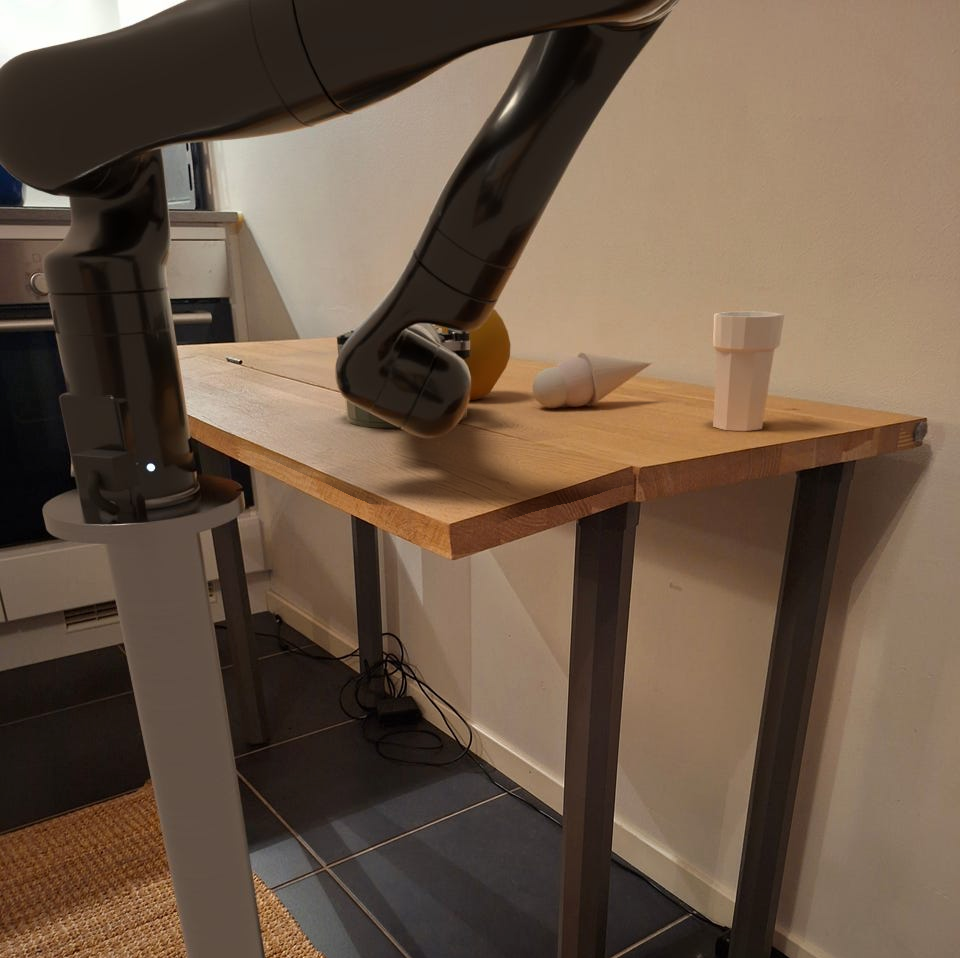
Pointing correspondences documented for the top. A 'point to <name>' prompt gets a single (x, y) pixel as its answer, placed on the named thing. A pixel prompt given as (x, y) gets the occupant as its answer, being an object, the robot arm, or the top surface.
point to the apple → (487, 354)
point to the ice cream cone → (583, 380)
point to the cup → (743, 366)
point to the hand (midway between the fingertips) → (404, 337)
